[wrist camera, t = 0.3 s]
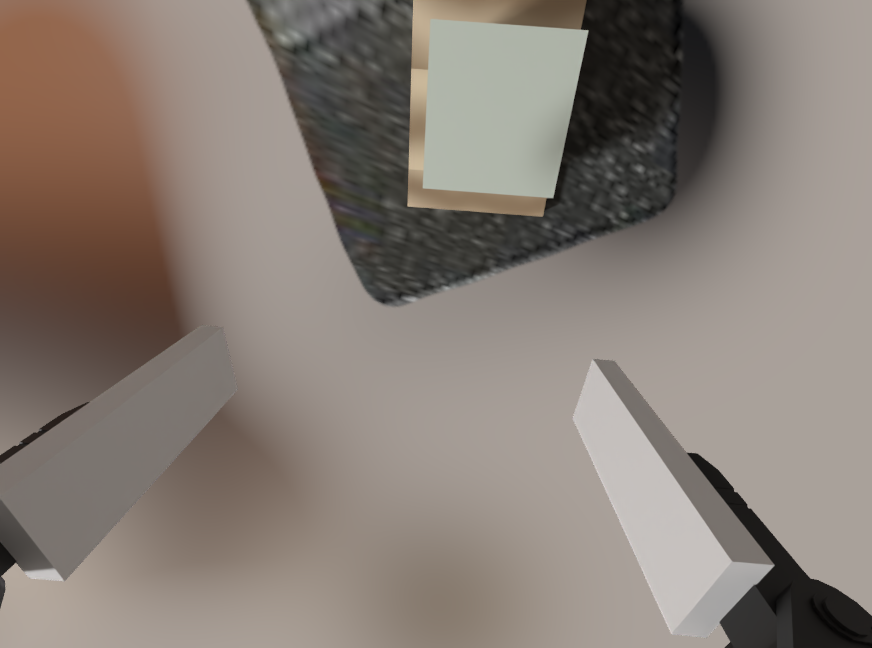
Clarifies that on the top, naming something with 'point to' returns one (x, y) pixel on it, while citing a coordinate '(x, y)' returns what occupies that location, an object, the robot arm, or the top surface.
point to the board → (486, 3)
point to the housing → (499, 106)
